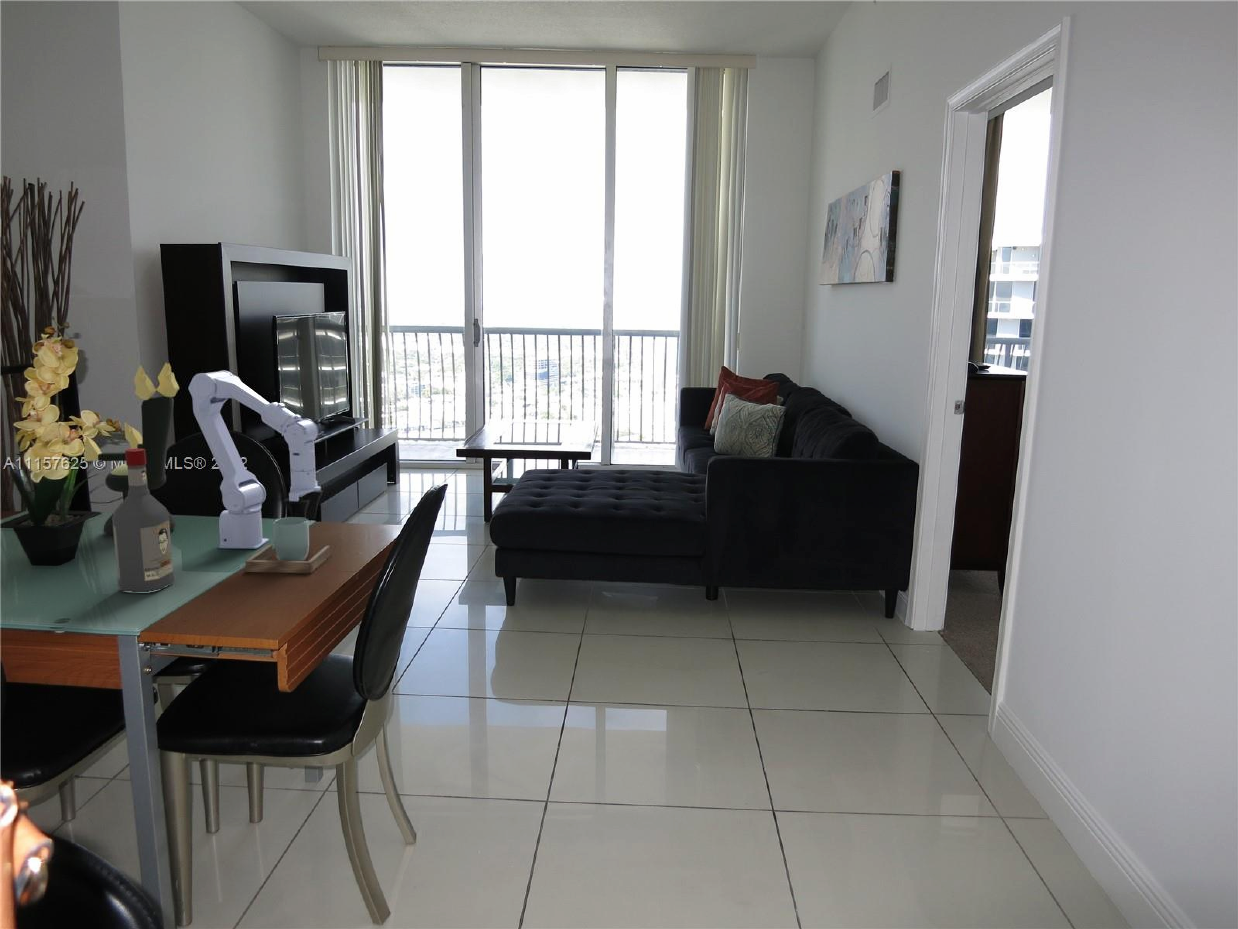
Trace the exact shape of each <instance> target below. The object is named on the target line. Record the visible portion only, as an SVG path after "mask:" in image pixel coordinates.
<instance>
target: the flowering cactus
mask: <svg viewBox="0 0 1238 929" xmlns="http://www.w3.org/2000/svg"><path fill="white" fill-rule="evenodd" d="M157 379H158V383H159V386H157V388H155V386H154V384H153V382H152V380H151V379H150V377H149V376H148V374H146V372H145V370H144V368H143V366H142V364H140V365H139V367H138V369H137V371H136V374H135V376H134V378H133V383H134V385H135V387H136V388H135V390H134V392H133V393H134V394H135V395H136V396H137V397H138V398H140V399H142V400H143V401H142V402H141V407H140V408H141V433H142V434H141V433H140V432H139V431H138V430H136V429H135V428H134V427H133V426H132V427H131V425H129V423H127V422H126V421H124V436H125V439H126V441H128V443H129V445H130V449H145V454H146V464H145V465H146V475H147V485H148V489H149V491H150V492H151V491H153V490H156V489H159V488H160V487H162V486H164V485H165V483H166V482H167V474H166V463H167V453H168V445H169V439H170V432H171V425H172V420H173V415H174V406H175V404H174V402H175V399H174V397H175V396H176V394H177V393H178V391H179V390H180V386H179V384H178V382H177V380H176V377H175V374H174V372H172V366H171V364H170V362H165V364H164V365H163V367H162V369H161V371H160V372H159V374H158V376H157ZM156 391H157V392H159V393H160V394H161V395H162V396H157V397H156V396H155V395H154V394H155V393H156ZM154 396H155V397H154ZM83 442H84V445H85V452H84V453H83V457H84V459H83V461H84V462H93V461H94V462H95V461H101V462H126V454H125V452H122V451H120V452H118V451H117V452H102V451H101V449H100V448H99V446H98V445H97V443H96V442H95V441H94V440H93V439H91V437H89V438H87V437H85V438H84V439H83ZM104 483H105V485H106V487H107V488H108V490H109V489H110V490H111V491H114V492H118V493H124V500H125V499H126V497H127V496H128V491H129V482H128V468H127V465H126V463H123V464H120V465H118V466H117V467H115V468H113V470H112V471H110V472H109V473H108V474H107V475H106V477H105V481H104ZM168 513H169V524H170V532H171V531H173V530H174V528H175V527H176V526H177V522H176V519H175V517H174V516H173V515H172V514H171V513H170V512H169V511H168ZM112 516H113V513H112V514H111V515H110V516H109V517H108V518H107V519H106V521H105V523H104V524H103V529H102V530H103V531H102V532H103V533H104V534H105V535H106V536H108V537H109V538H113V539H114V533H113V522H112Z"/></svg>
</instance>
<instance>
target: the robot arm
mask: <svg viewBox="0 0 1238 929" xmlns="http://www.w3.org/2000/svg"><path fill="white" fill-rule="evenodd" d="M191 379H192V380H191V382H190V383H189V386H188V391H189V393H190V395H191V398H192V410H193V411H192V412H193V415H194V417H195V419H196V421H197V423H198V426H199V428H200V430H201V432H202V434H203V436H204V438H205V440H206V442H207V445H208V447H209V450H210V451H211V454H212V456H213V458H214V461H215V462H216V465H217V467H218V469H219V471H220V472H221V475H222V477H223V480H222V481H221V484H220V486H219V489H220V491H221V496H222V503H223V506H224V507H225V509H226V510H222V512H221V513H220V515H219V520H218V529H219V530H218V531H219V541H220V542H219V545H218V547H219V549H244V550H245V549H246V550H247V549H249V550H250V549H251V550H253V549H254V550H257V549H259V548H260V547H262V546H264V544H266V543H267V542H269V540H270V539H269V538H265V537H264V536H263V525H262V524H263V522H262V510H261V509H262V506H263V505H262V504H263V503H264V502H265V500H266V498H267V497H266V496H267V492H266V488H265V487H264V485H263V484H262V483H260V482H259V480H258V479H257V477H256V475H255V474H253V473H252V472H250V471H249V470H247V469H246V467H245V465H244V462H243V460H242V458H241V456H240V454H239V451H238V449H237V448H236V445H235V443H234V440H233V438H232V437H231V434H230V431H229V430H228V428H227V425H226V423H225V422H224V419H223V416H222V414H221V409H222V408H223V406H224V404H225V403H226V401H228V399H235V400H236V401H237V402H239V403H241V404H243V405H244V406H246V407H248V408H250V409H251V410H254V411H255V412H257V413H258V414H259V415H260V416H261V421H262V422H263V423H264V424H266V425H267V426H269V427H270V428H272V429H273V430H276V431H277V432H278V433H280V434H281V435H283V438H284V441H285V442H286V443H287V445H288V451H289V465H290V466H289V467H290V491H289V492H288V497H287V498H286V499H284V504H285V506H286V507H287V509H288V511H289V513H290V515H291V516H290V517H302V518H306V519H308V520H315V519H316V516H317V512H318V507H319V502H320V500H321V497H322V495H323V491H324V490H323V489H321V488H322V487H321V486H319V484H318V482H319V481H318V480H317V479H316V456H315V455H316V454H315V440H317V438H318V436H319V428H318V426H317V424H316V423H315V421H313V420H312V419H310V418H302V416H301V415H299V414H295V413H293V412H292V411H291V410H289V409H288V408H287V407H286V404H285V403H283V402H279V403H278V402H277V401H275V402H271V403H270V402H269V401H267V400H266V399H265V398H263V397H262V396H261V395H259V394H258V393H257V392H255V391H254V390H253V389H251V388H250V387H249V386H247V385H246V384H245V383H243V382H242V380H241V379H240V377H239V376H237V375H234V374H232V372H230V371H228V370H218V371H213V372H206V373H205V372H204V373H203V372H201V373H196V374H195V375H194V376H193V377H192V378H191ZM263 537H264V538H263Z"/></svg>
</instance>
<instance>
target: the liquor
mask: <svg viewBox="0 0 1238 929" xmlns="http://www.w3.org/2000/svg"><path fill="white" fill-rule="evenodd" d="M124 451H125V454H126V461H125V464H126V465H127V468H128V482H129V491H128V496H127V497H126V499H125V498H124V500H123V501H122V502H121V503H120V504H119V506H118V507H117V508H116V509H115V510H114V511H113V513H112V514H113V516H112V522H113V533H114V538H113V541H114V553H115V554H114V555H115V564H116V574H117V585H118V587H119V589H120V590H121V592H123V591H132V592H149V591H154V590H159V589H162V588H164V587H165V586H167V585H169V584H171V583H172V582H174V578H175V576H174V565H173V552H172V550H173V549H172V540H171V531H170V524H169V513H170V512H169V511H168V509H167V507H165V505H163V504H162V503H160V501H158V500H157V498H155V497H154V496H153V495H152V494H151V490H150V491H149V489H148V485H147V475H146V465H145V464H146V454H145V449H131V448H129V449H126V450H124ZM168 512H169V513H168ZM172 584H173V583H172ZM172 584H171V585H172ZM164 589H165V588H164ZM162 590H163V589H162Z"/></svg>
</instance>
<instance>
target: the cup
mask: <svg viewBox="0 0 1238 929" xmlns="http://www.w3.org/2000/svg"><path fill="white" fill-rule="evenodd" d="M309 526H310V525H309V519H306V518H302V517H292V516H287V517H282V518H278V519H276V520H273V522H272V532H273V533H272V534H273V546H274V552H275V556H276V558H277V561H306V558H307V557H308V555H309V549H310V528H309Z"/></svg>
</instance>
